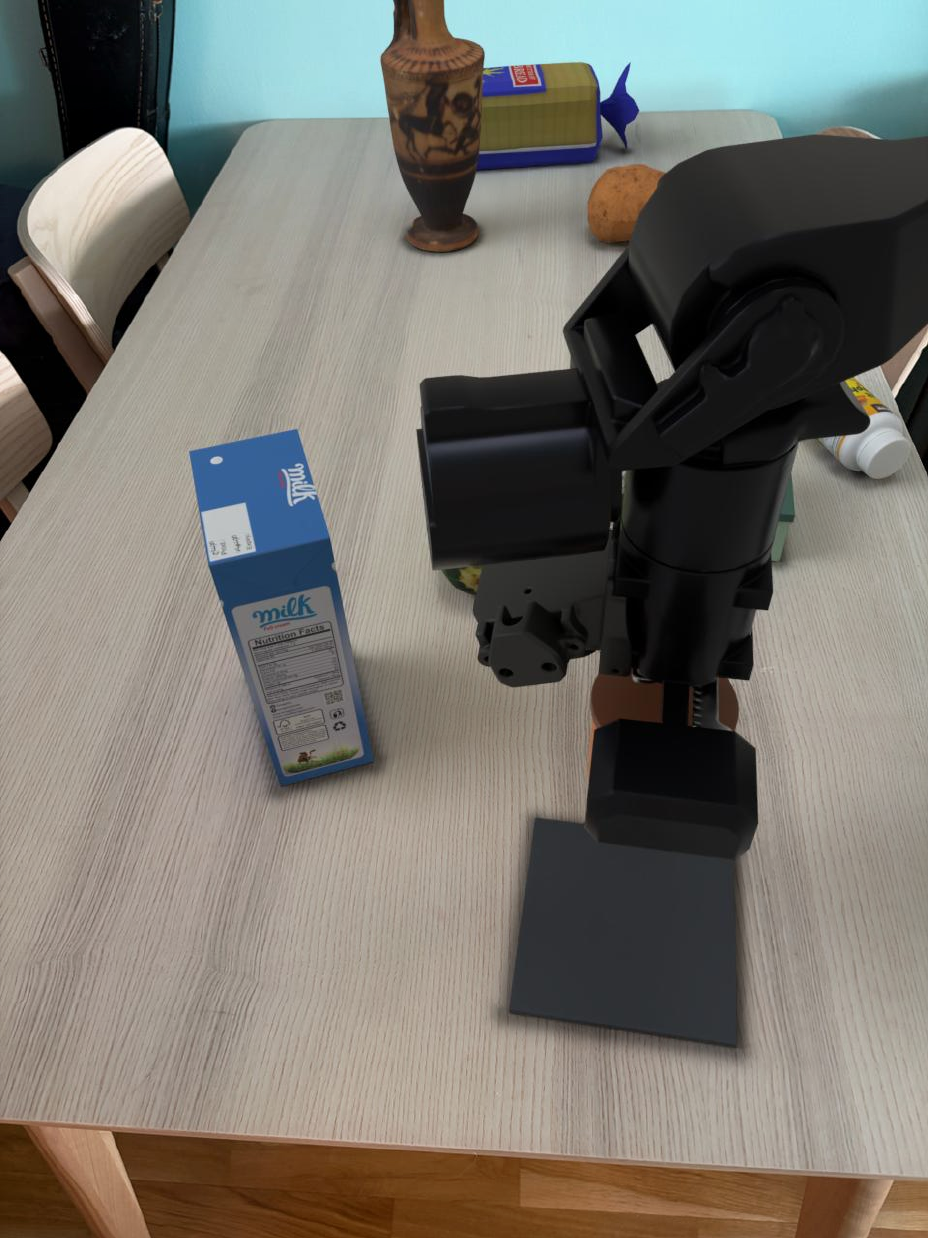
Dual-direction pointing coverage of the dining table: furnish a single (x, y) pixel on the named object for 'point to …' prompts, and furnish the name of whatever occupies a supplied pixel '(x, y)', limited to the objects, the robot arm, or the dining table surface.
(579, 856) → the mat
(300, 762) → the milk carton
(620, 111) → the bread
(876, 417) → the supplement bottle
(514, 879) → the dining table surface
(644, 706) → the round tub
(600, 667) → the robot arm
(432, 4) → the vase
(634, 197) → the potato
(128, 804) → the dining table surface
